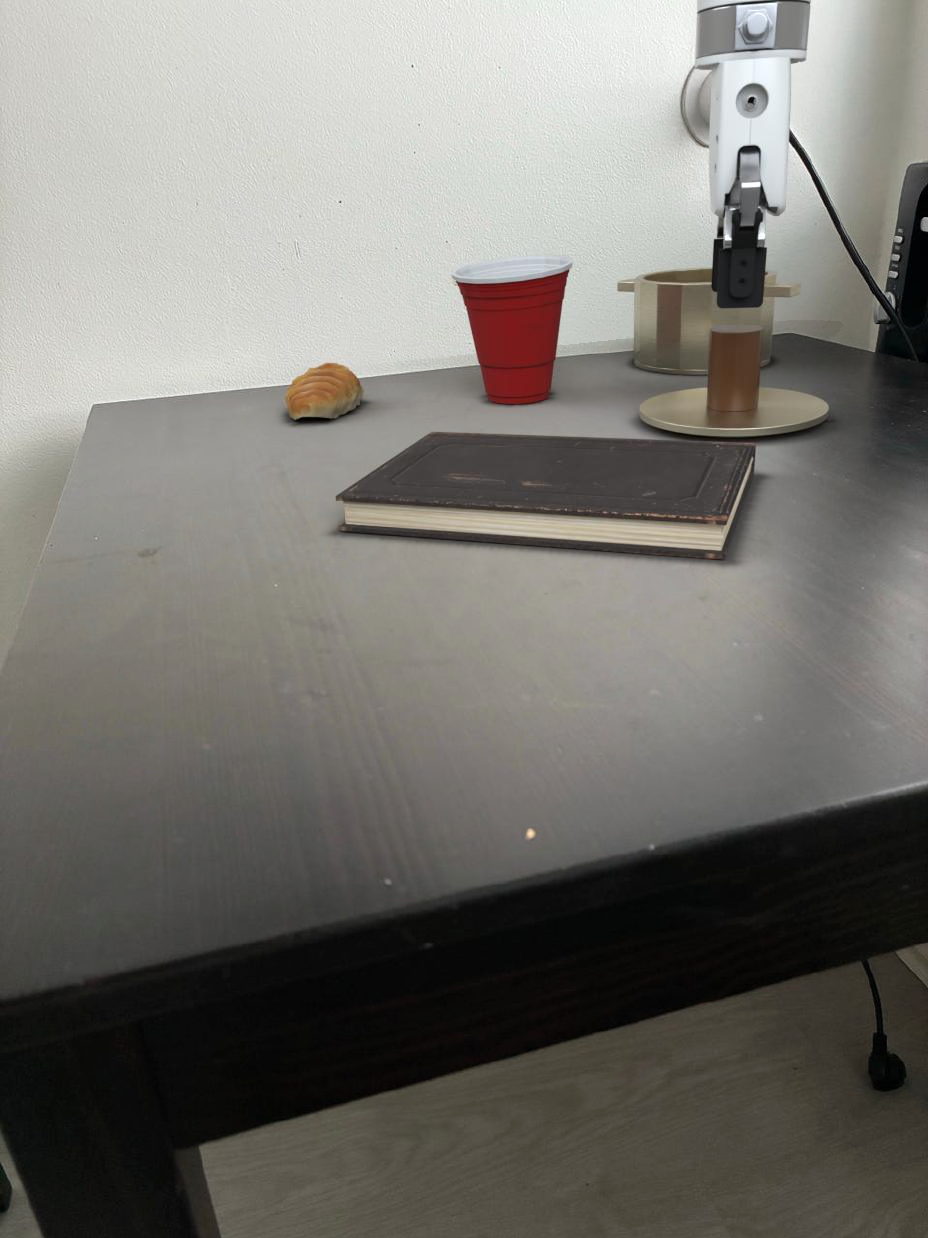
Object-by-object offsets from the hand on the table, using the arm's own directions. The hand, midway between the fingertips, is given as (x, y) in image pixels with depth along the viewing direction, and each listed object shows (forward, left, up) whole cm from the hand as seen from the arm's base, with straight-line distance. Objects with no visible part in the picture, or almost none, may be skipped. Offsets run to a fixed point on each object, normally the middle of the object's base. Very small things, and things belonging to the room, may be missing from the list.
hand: (735, 298), depth 76 cm
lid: (0, 0, -9) cm, 9 cm away
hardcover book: (+24, 0, -10) cm, 26 cm away
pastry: (+13, -34, -10) cm, 38 cm away
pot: (-21, -14, -9) cm, 27 cm away
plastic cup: (+1, -21, -10) cm, 23 cm away
